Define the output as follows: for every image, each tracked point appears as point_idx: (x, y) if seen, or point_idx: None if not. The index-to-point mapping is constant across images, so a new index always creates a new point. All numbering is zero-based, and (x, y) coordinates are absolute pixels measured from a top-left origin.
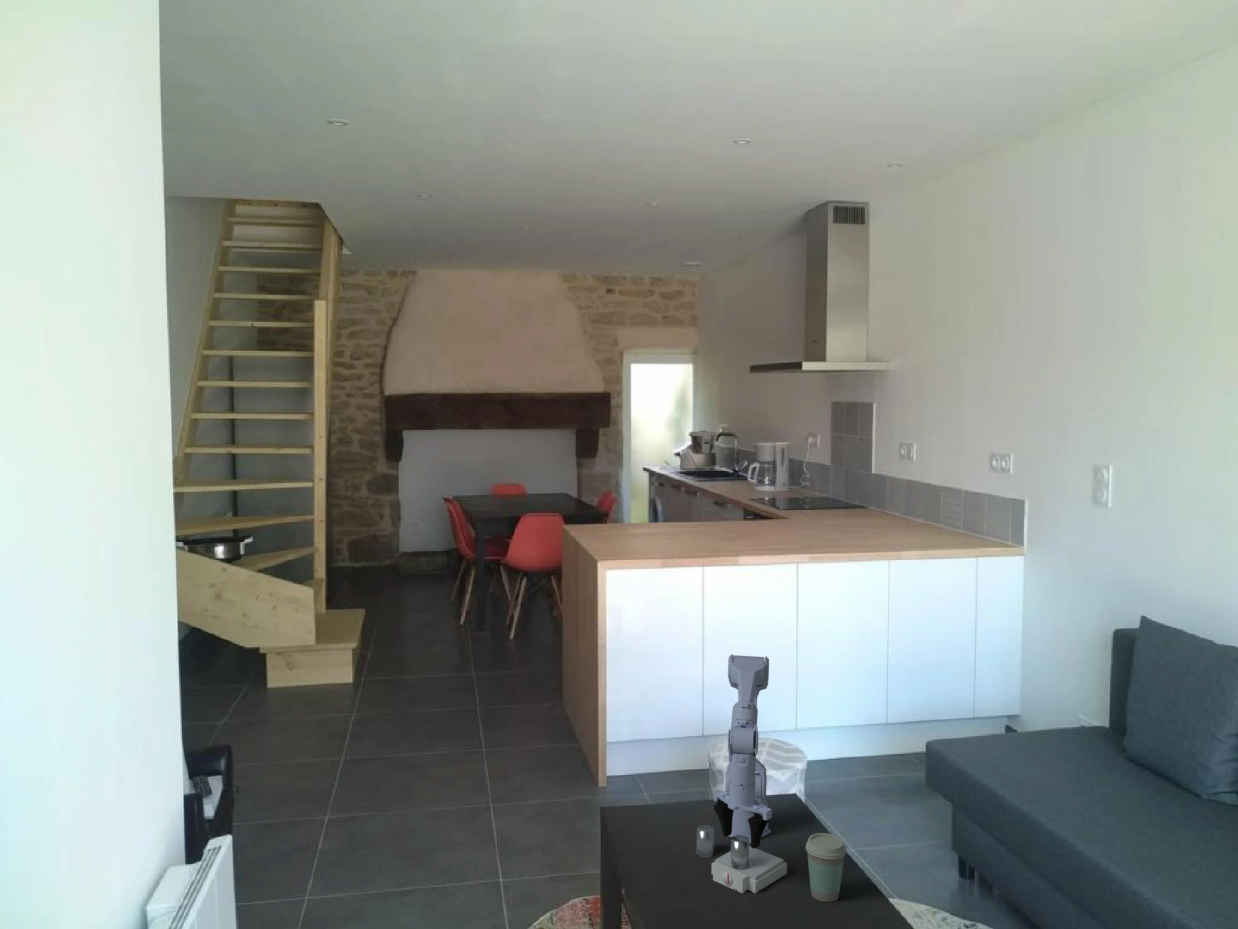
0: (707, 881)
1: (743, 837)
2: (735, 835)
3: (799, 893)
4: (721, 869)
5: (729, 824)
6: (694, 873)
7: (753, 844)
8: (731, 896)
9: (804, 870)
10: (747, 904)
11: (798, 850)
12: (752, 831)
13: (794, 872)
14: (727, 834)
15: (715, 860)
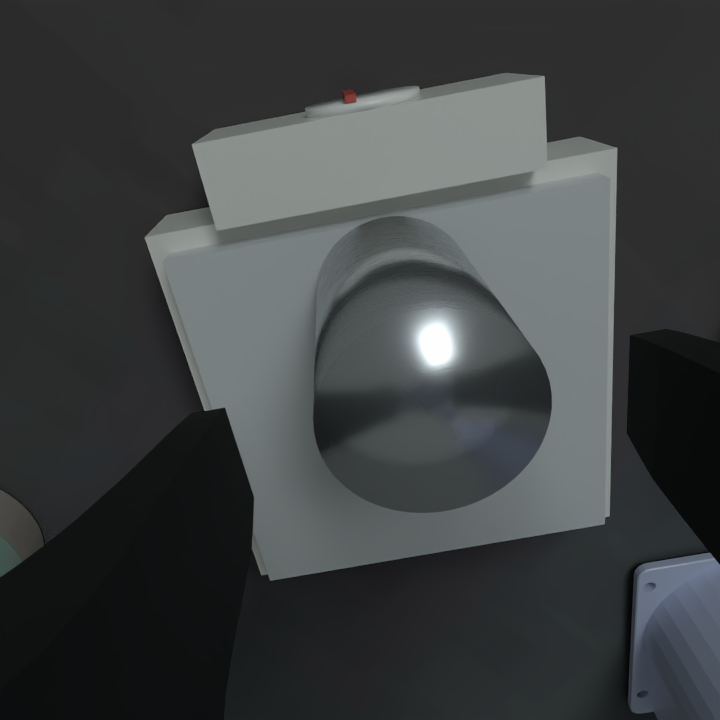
0: (525, 18)
1: (438, 474)
2: (543, 434)
3: (41, 445)
4: (445, 98)
5: (712, 493)
6: (688, 17)
7: (166, 437)
8: (225, 16)
9: (245, 610)
10: (56, 40)
11: (417, 695)
12: (76, 564)
13: (257, 564)
14: (642, 379)
15: (602, 178)
